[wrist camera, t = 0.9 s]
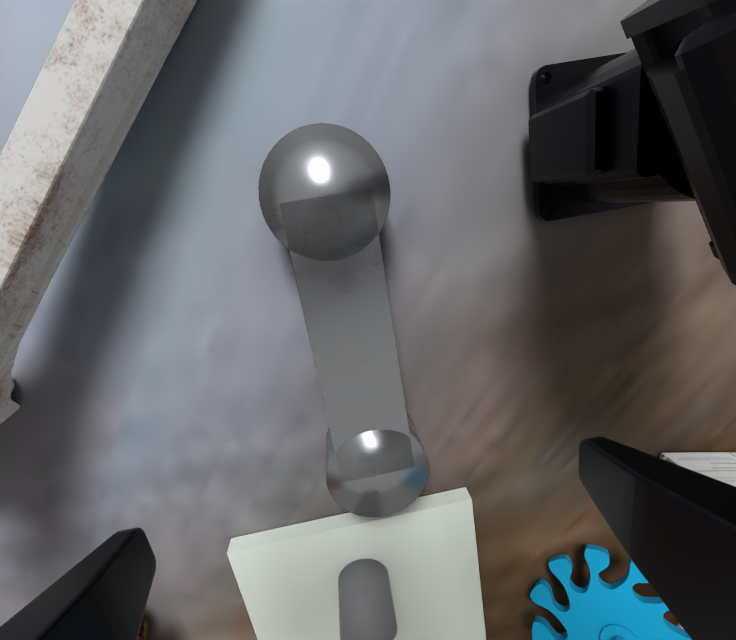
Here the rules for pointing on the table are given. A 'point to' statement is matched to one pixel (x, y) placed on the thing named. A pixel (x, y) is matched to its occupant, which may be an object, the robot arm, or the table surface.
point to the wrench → (71, 146)
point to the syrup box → (707, 464)
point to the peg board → (397, 541)
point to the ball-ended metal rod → (346, 310)
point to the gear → (601, 605)
